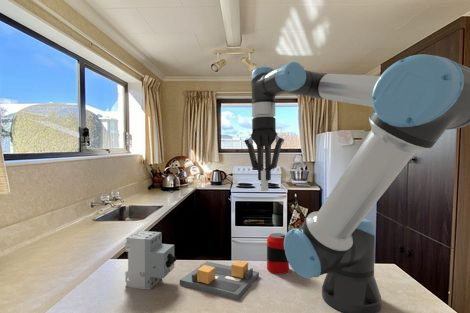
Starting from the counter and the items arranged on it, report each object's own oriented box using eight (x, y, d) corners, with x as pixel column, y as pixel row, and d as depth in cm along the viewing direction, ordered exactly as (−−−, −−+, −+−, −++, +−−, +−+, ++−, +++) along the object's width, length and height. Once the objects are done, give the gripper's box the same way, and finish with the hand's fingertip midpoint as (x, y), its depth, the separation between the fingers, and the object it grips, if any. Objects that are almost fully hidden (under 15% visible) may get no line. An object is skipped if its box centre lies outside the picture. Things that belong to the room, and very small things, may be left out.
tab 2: (248, 273, 88) (248, 262, 88) (242, 278, 85) (242, 267, 85) (236, 270, 90) (236, 260, 90) (231, 275, 86) (231, 264, 86)
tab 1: (215, 278, 84) (215, 267, 84) (208, 284, 81) (208, 272, 81) (204, 275, 86) (204, 264, 86) (197, 281, 83) (197, 269, 83)
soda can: (284, 276, 90) (284, 240, 90) (263, 271, 94) (263, 236, 94) (292, 268, 96) (292, 234, 96) (272, 263, 100) (272, 231, 100)
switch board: (258, 276, 90) (258, 265, 90) (237, 299, 75) (237, 287, 75) (207, 265, 99) (207, 255, 99) (179, 284, 84) (179, 273, 84)
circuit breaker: (169, 291, 80) (169, 240, 80) (125, 286, 83) (125, 237, 83) (179, 280, 87) (179, 233, 87) (138, 275, 90) (138, 230, 90)
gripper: (286, 117, 89) (287, 190, 88) (248, 120, 94) (249, 188, 94) (280, 114, 82) (281, 192, 81) (240, 117, 87) (241, 191, 87)
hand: (264, 190), depth 88 cm, fingers closed
